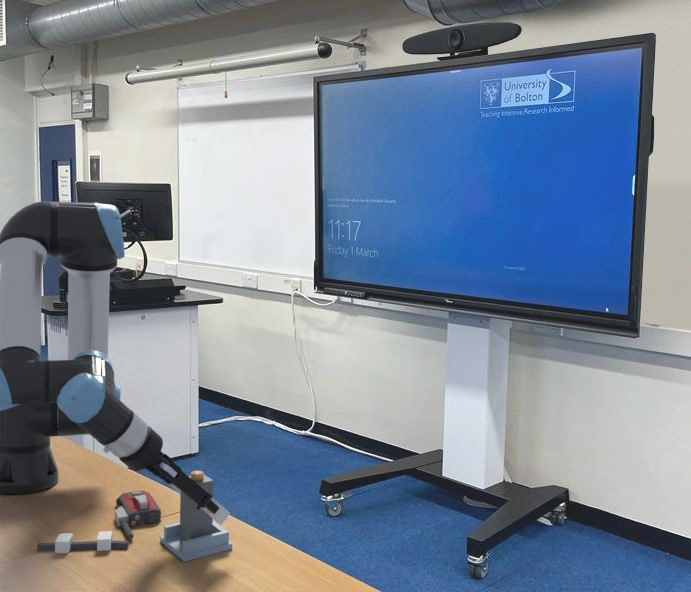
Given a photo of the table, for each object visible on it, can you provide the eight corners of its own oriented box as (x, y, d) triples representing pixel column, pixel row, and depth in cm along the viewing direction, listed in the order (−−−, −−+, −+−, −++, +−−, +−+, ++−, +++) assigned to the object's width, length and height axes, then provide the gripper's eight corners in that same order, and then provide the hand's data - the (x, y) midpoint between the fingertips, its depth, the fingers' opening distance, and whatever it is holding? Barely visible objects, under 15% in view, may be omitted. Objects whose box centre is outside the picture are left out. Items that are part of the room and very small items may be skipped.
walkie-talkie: (106, 507, 163) (125, 545, 146) (106, 487, 163) (125, 522, 145) (148, 501, 167) (171, 537, 150) (148, 481, 167) (171, 515, 149)
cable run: (39, 545, 143) (38, 534, 142) (129, 541, 146) (129, 530, 146) (35, 554, 139) (35, 543, 139) (128, 550, 142) (128, 538, 142)
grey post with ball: (179, 538, 146) (180, 471, 144) (201, 533, 149) (202, 467, 147) (190, 547, 142) (191, 478, 141) (212, 541, 145) (213, 474, 144)
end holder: (160, 541, 146) (160, 525, 146) (207, 530, 153) (207, 514, 152) (183, 561, 139) (183, 544, 138) (232, 548, 145) (232, 532, 144)
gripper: (94, 441, 143) (170, 504, 154) (145, 478, 125) (227, 547, 136) (122, 410, 146) (195, 474, 157) (176, 442, 128) (254, 512, 139)
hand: (210, 508), depth 147 cm, fingers open, 11 cm apart
